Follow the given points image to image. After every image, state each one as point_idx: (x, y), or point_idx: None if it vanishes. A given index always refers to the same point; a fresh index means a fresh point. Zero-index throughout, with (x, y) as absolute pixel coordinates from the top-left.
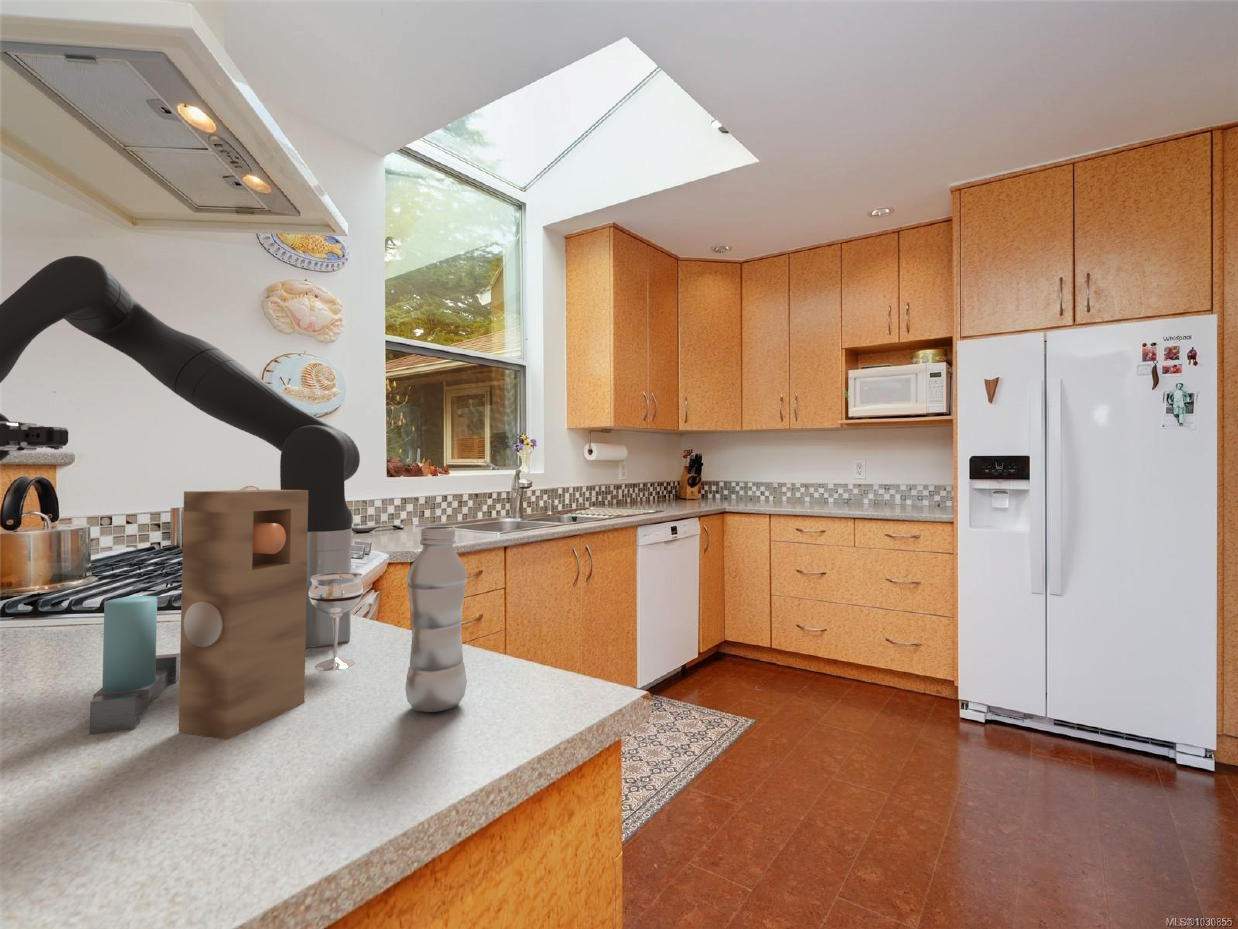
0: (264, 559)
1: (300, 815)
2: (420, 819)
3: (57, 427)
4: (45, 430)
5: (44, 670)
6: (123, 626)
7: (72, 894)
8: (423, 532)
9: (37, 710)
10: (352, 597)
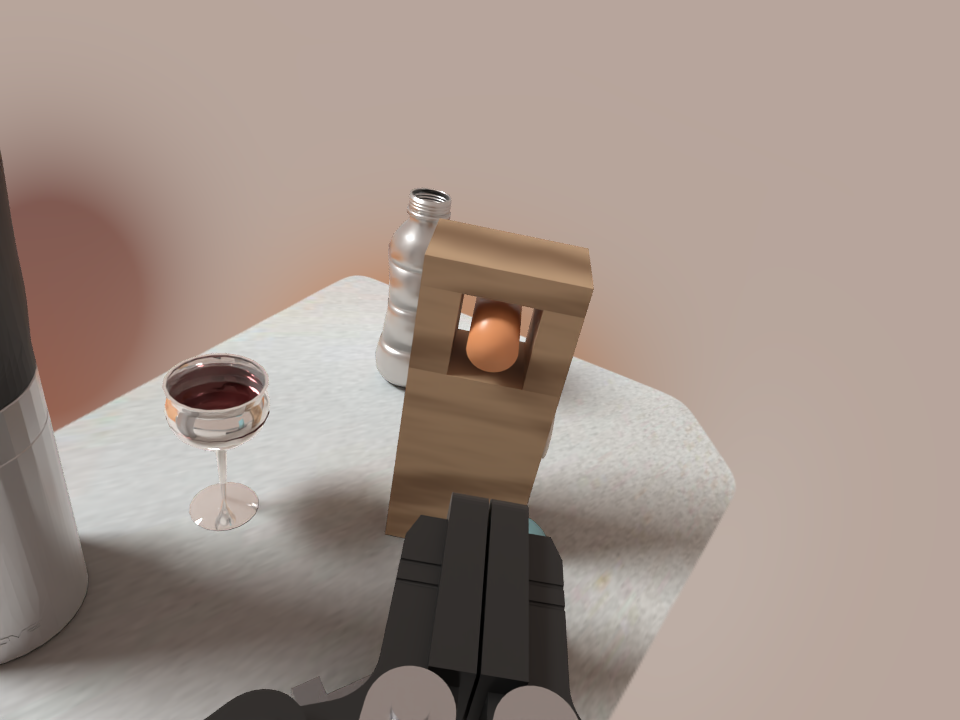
0: (452, 349)
1: (602, 408)
2: (582, 360)
3: (499, 503)
4: (551, 539)
5: None
6: None
7: (713, 471)
8: (447, 206)
9: None
10: (249, 386)
